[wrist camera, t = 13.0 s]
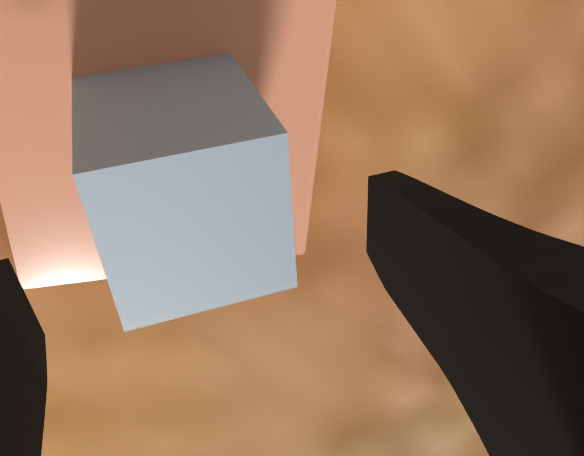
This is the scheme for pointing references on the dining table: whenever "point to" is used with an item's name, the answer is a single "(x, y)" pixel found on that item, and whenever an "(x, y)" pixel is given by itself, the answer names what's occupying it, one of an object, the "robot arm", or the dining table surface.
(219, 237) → the slate block
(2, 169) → the salmon pink tile
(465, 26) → the dining table surface
